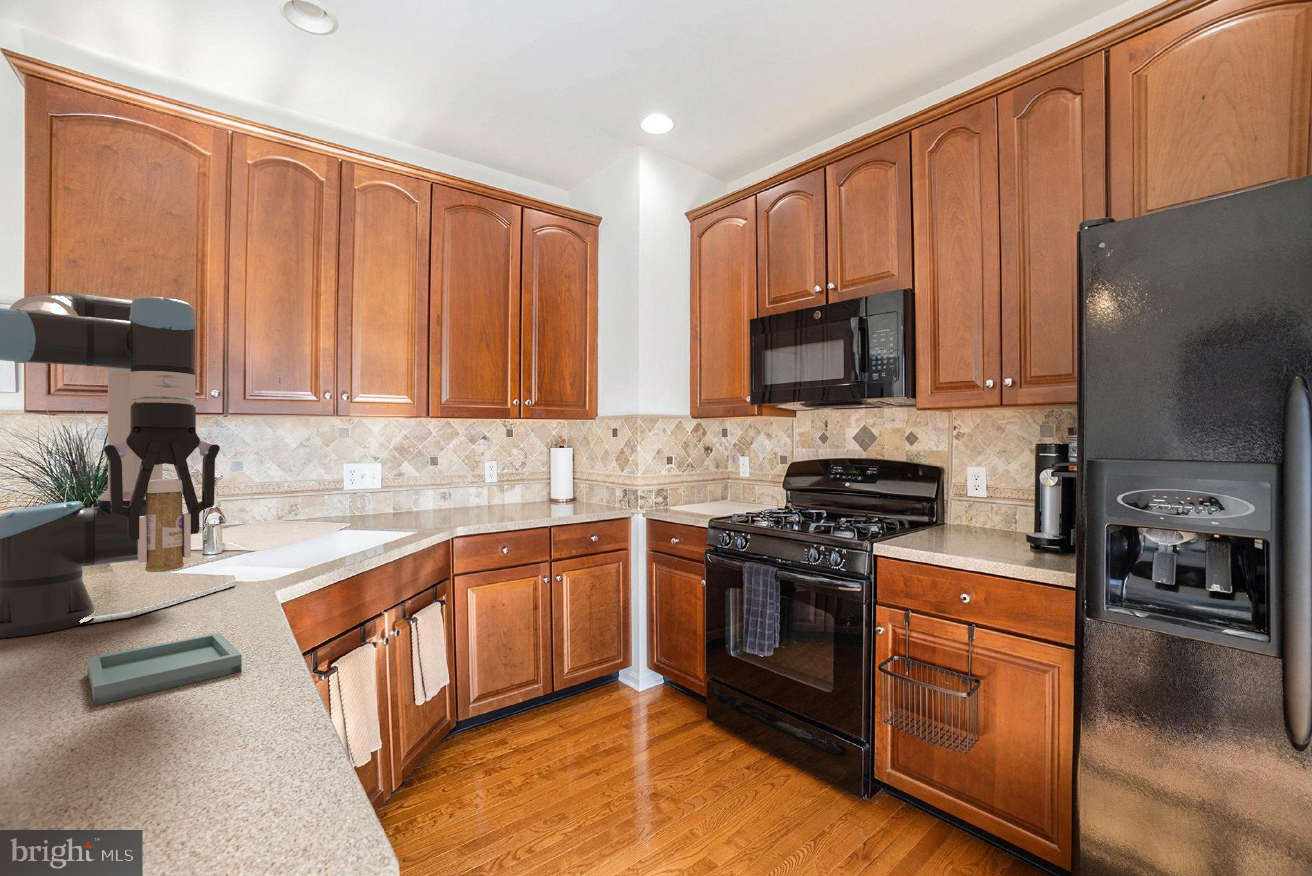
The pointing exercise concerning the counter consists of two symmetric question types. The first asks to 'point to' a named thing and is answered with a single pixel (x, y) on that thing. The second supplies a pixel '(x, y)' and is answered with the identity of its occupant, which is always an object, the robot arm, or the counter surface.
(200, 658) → the tray
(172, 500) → the sprinkles bottle
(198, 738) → the counter surface
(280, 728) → the counter surface
